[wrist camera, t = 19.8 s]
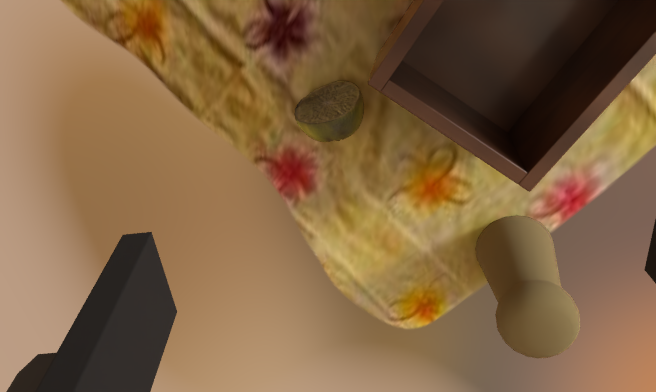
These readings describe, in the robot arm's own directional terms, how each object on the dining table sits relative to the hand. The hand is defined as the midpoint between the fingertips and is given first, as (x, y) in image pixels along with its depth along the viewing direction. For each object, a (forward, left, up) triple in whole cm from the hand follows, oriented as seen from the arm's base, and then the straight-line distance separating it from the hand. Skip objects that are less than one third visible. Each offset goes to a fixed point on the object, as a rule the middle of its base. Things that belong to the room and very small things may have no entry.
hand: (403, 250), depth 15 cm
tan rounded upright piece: (+16, -8, -28) cm, 33 cm away
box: (+4, +7, -28) cm, 29 cm away
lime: (-3, -6, -28) cm, 29 cm away
